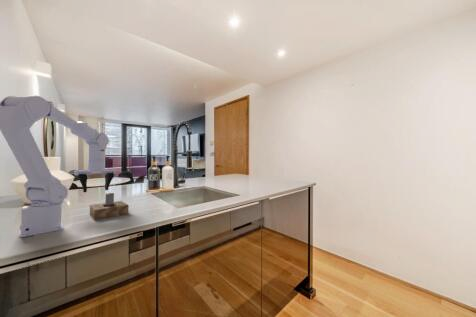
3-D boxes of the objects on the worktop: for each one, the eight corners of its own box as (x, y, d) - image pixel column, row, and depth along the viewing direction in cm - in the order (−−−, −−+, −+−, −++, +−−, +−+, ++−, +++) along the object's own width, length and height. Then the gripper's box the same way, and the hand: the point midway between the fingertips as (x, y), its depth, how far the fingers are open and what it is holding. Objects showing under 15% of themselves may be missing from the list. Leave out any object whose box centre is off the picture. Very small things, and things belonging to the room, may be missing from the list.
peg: (105, 215, 78) (106, 194, 78) (104, 214, 80) (104, 193, 80) (114, 214, 80) (114, 193, 80) (112, 212, 82) (113, 192, 82)
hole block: (94, 220, 72) (94, 210, 72) (89, 214, 79) (89, 205, 79) (128, 214, 81) (128, 205, 81) (121, 209, 88) (121, 200, 88)
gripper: (77, 160, 72) (76, 194, 72) (119, 160, 83) (118, 190, 84) (73, 159, 77) (72, 191, 77) (113, 159, 88) (112, 188, 88)
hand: (96, 190), depth 80 cm, fingers open, 7 cm apart
